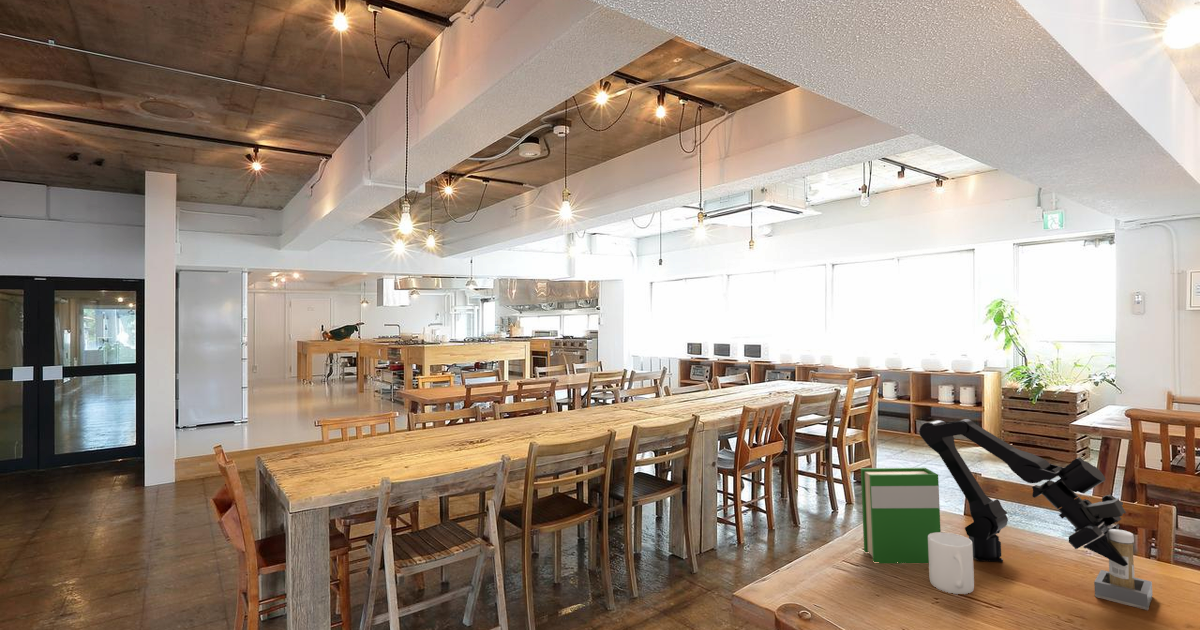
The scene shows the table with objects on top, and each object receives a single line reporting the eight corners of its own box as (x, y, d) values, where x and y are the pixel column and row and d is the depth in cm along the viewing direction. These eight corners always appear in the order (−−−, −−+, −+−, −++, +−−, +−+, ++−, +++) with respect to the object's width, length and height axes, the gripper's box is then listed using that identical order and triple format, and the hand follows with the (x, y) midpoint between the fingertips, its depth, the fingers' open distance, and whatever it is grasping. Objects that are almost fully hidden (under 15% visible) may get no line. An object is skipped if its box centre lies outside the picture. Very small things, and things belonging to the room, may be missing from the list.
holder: (1147, 610, 127) (1147, 594, 127) (1094, 596, 134) (1094, 581, 134) (1152, 596, 133) (1151, 581, 133) (1101, 584, 140) (1100, 569, 140)
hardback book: (874, 563, 156) (870, 475, 156) (864, 552, 163) (860, 468, 163) (941, 563, 154) (938, 474, 154) (928, 552, 161) (925, 467, 162)
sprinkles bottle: (1140, 592, 132) (1138, 534, 132) (1125, 595, 131) (1123, 536, 131) (1118, 584, 136) (1117, 527, 136) (1103, 586, 135) (1102, 529, 135)
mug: (957, 576, 146) (955, 531, 146) (991, 599, 134) (989, 549, 134) (921, 579, 146) (919, 533, 146) (952, 601, 134) (950, 551, 134)
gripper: (1084, 493, 131) (1151, 557, 122) (1108, 478, 142) (1172, 535, 133) (1044, 518, 138) (1104, 580, 129) (1070, 502, 149) (1128, 558, 140)
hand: (1128, 562), depth 132 cm, fingers closed on sprinkles bottle, 4 cm apart
